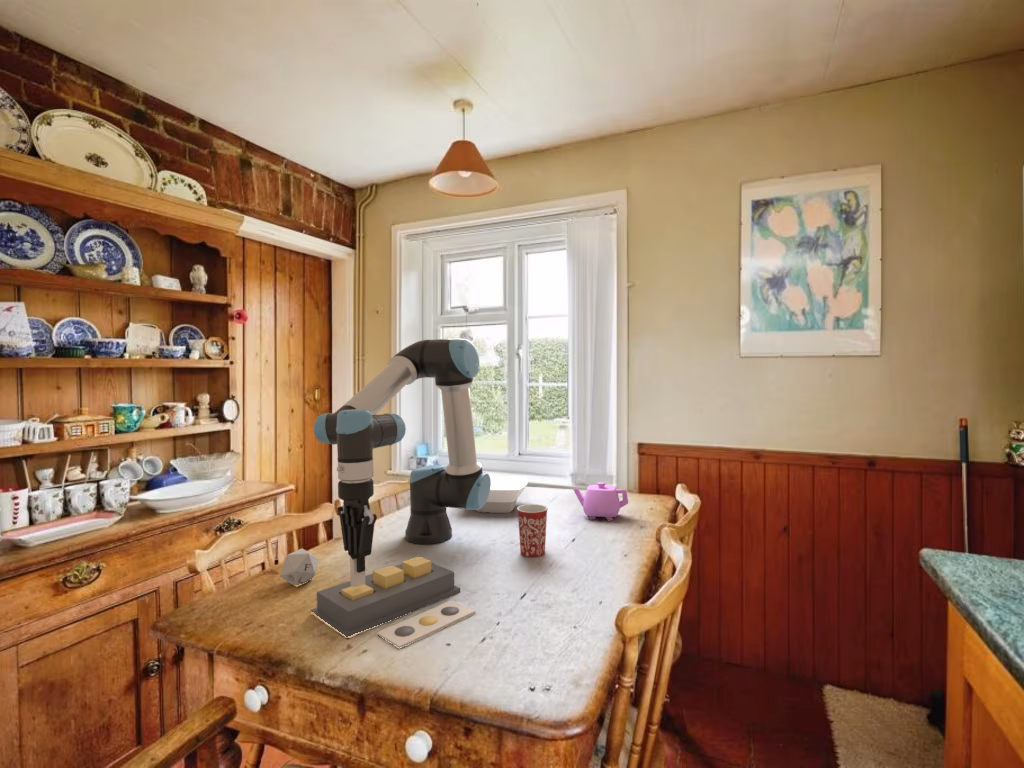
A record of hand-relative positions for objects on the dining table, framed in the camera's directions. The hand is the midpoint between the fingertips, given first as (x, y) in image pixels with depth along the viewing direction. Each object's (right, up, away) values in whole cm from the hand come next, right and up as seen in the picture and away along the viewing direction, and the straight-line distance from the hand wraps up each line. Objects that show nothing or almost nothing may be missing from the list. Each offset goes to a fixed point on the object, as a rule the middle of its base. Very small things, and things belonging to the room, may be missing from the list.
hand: (358, 584), depth 113 cm
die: (-20, -7, +18) cm, 28 cm away
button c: (+11, -3, +11) cm, 16 cm away
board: (+5, -6, +6) cm, 10 cm away
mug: (+41, -6, +39) cm, 57 cm away
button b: (+5, -3, +6) cm, 8 cm away
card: (+16, -7, -5) cm, 18 cm away
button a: (0, -5, 0) cm, 5 cm away
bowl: (+28, -5, +89) cm, 93 cm away
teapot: (+67, -5, +75) cm, 101 cm away
